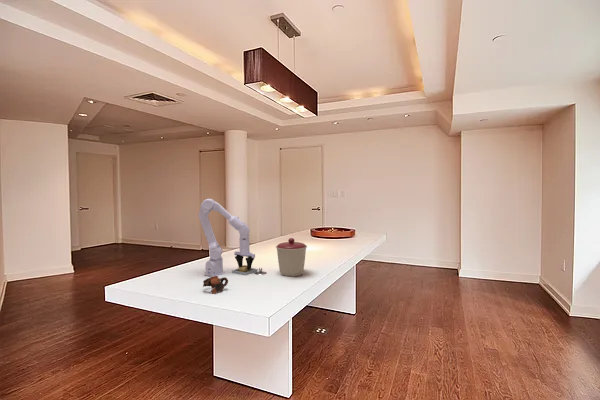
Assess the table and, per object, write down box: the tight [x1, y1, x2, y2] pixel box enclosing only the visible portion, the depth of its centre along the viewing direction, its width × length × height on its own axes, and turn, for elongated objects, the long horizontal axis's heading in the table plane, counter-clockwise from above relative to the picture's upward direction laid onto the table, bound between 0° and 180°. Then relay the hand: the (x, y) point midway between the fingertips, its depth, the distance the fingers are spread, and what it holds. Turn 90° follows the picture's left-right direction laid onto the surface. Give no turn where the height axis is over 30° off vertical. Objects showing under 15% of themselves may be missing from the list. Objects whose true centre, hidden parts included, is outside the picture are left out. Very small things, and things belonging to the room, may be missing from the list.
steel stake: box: [253, 267, 268, 276], centre depth 189 cm, size 7×7×3 cm
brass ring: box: [237, 264, 251, 273], centre depth 191 cm, size 6×5×3 cm
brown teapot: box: [202, 275, 229, 295], centre depth 160 cm, size 12×10×8 cm
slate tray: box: [231, 267, 259, 276], centre depth 191 cm, size 11×11×2 cm
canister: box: [275, 237, 308, 277], centre depth 187 cm, size 18×18×21 cm
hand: (244, 268), depth 191 cm, fingers open, 6 cm apart
